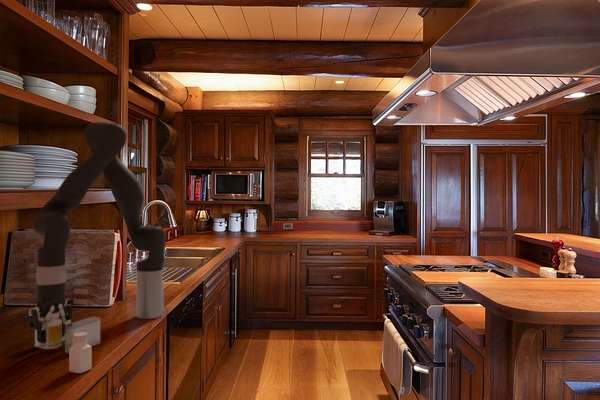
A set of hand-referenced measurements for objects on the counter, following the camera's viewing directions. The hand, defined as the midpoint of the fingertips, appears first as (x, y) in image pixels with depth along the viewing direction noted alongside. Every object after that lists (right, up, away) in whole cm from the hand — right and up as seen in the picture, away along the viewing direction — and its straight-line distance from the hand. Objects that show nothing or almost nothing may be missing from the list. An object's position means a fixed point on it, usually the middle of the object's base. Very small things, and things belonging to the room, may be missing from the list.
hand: (51, 339), depth 131 cm
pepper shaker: (+15, -4, -14) cm, 21 cm away
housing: (+2, -3, +5) cm, 7 cm away
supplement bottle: (0, -2, 0) cm, 2 cm away
